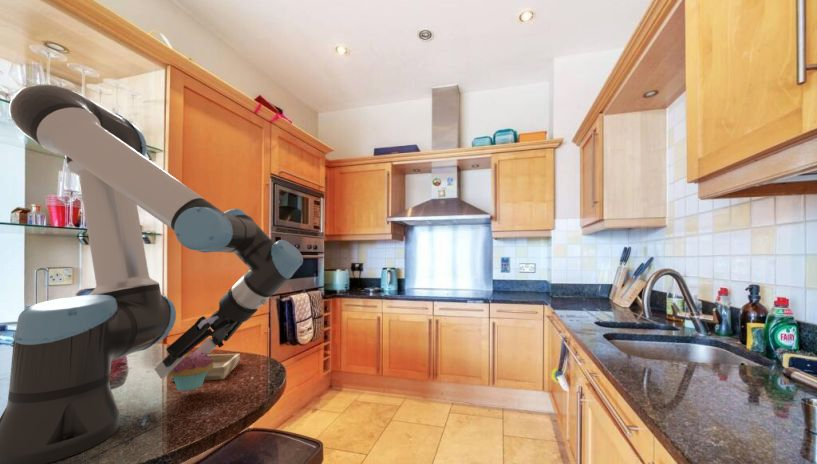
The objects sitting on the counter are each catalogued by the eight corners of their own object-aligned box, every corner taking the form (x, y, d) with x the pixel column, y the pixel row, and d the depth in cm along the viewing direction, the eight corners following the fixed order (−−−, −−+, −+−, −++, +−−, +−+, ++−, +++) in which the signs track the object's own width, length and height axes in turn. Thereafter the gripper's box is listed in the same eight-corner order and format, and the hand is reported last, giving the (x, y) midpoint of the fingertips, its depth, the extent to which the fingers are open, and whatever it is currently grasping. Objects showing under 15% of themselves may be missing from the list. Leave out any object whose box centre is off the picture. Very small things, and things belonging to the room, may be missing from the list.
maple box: (223, 379, 81) (224, 367, 82) (170, 381, 79) (171, 369, 80) (239, 364, 93) (240, 353, 94) (194, 366, 91) (194, 355, 91)
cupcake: (177, 397, 67) (182, 338, 68) (158, 388, 71) (163, 333, 72) (219, 384, 74) (223, 331, 75) (200, 376, 78) (203, 326, 79)
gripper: (219, 319, 61) (140, 399, 62) (282, 304, 81) (221, 364, 83) (197, 290, 62) (120, 368, 63) (264, 282, 83) (205, 342, 84)
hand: (177, 366), depth 73 cm, fingers closed on cupcake, 8 cm apart
